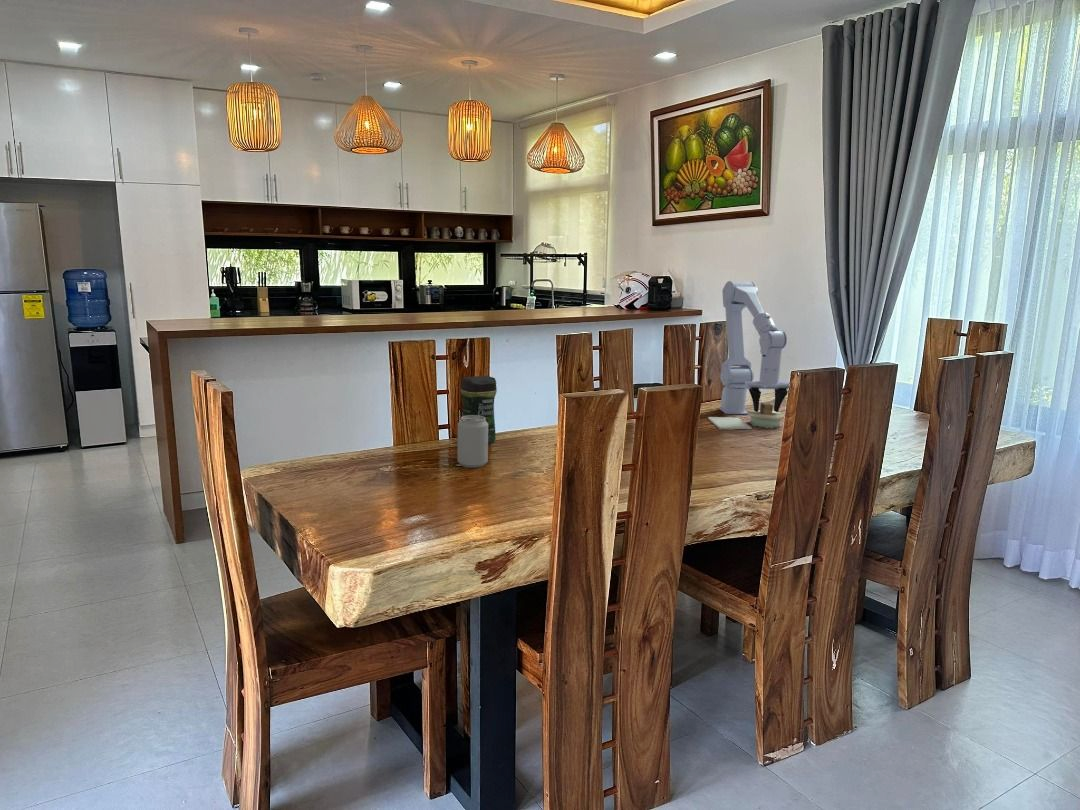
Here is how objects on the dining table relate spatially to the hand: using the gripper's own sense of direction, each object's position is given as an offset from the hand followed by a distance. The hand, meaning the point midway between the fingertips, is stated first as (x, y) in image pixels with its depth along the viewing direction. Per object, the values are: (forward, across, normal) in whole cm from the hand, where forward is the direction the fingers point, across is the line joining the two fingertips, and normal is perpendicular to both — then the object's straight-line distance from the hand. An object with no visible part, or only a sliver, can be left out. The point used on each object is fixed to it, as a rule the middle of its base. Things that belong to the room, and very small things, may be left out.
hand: (766, 411), depth 232 cm
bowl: (+4, 0, 0) cm, 4 cm away
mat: (+4, -12, 0) cm, 12 cm away
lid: (+1, 0, 0) cm, 1 cm away
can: (+5, -90, -48) cm, 103 cm away
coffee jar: (+5, -90, -27) cm, 94 cm away
